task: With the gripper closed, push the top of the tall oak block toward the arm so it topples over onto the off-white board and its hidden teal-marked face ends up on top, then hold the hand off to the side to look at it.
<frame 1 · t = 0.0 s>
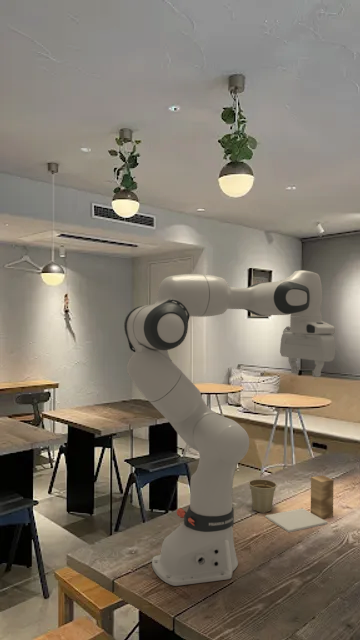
hand: (305, 374, 140), 48 cm above the table, tool pointing down, fingers open, 8 cm apart
flower pot: (262, 509, 163), on the table
oak block: (321, 515, 158), on the table
white board: (296, 520, 154), on the table
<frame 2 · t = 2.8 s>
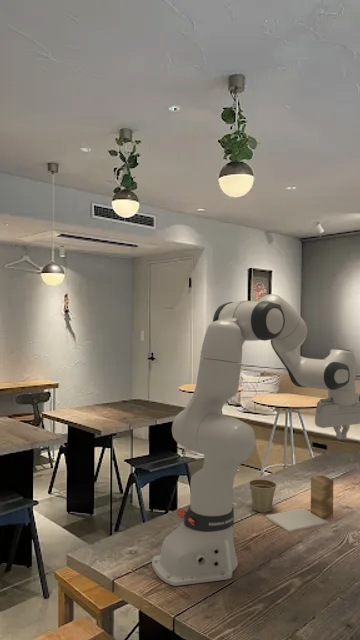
hand: (341, 438, 162), 24 cm above the table, tool pointing down, fingers closed
nothing on the table moved.
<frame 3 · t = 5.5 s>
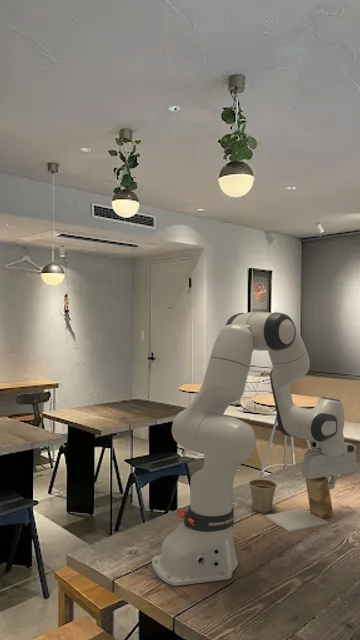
hand: (329, 488, 159), 8 cm above the table, tool pointing down, fingers closed
oak block: (321, 513, 158), on the table, tilted 11°
everything else where it was.
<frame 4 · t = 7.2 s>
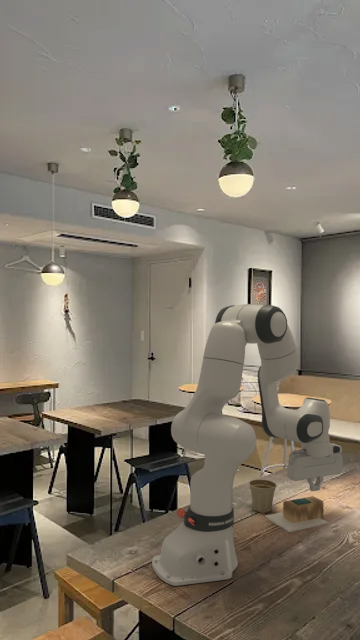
hand: (314, 490, 157), 9 cm above the table, tool pointing down, fingers closed
oak block: (318, 506, 158), point 3 cm above the table, tilted 90°, touching white board
everything else where it was.
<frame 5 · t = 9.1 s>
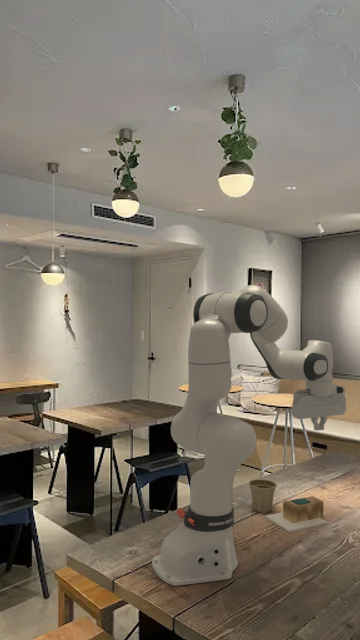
hand: (318, 429, 161), 27 cm above the table, tool pointing down, fingers closed
nothing on the table moved.
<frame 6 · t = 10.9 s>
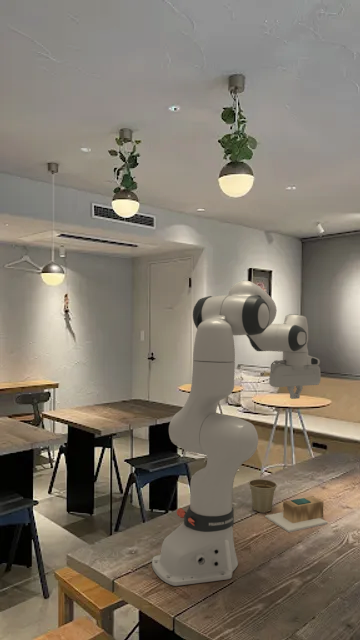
hand: (294, 398, 173), 36 cm above the table, tool pointing down, fingers closed
nothing on the table moved.
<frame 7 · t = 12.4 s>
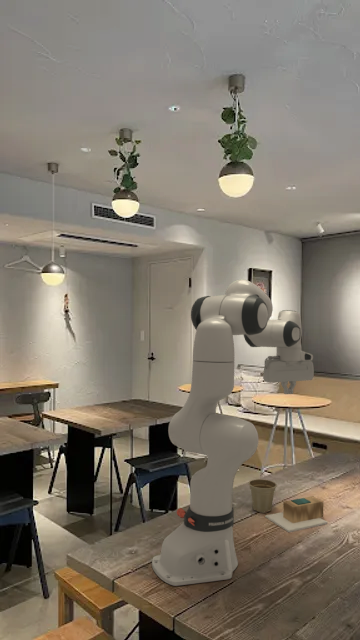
hand: (288, 393, 174), 37 cm above the table, tool pointing down, fingers closed
nothing on the table moved.
at the end: oak block tilted 90°; oak block touching white board; flower pot moved 0.2 cm from its start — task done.
